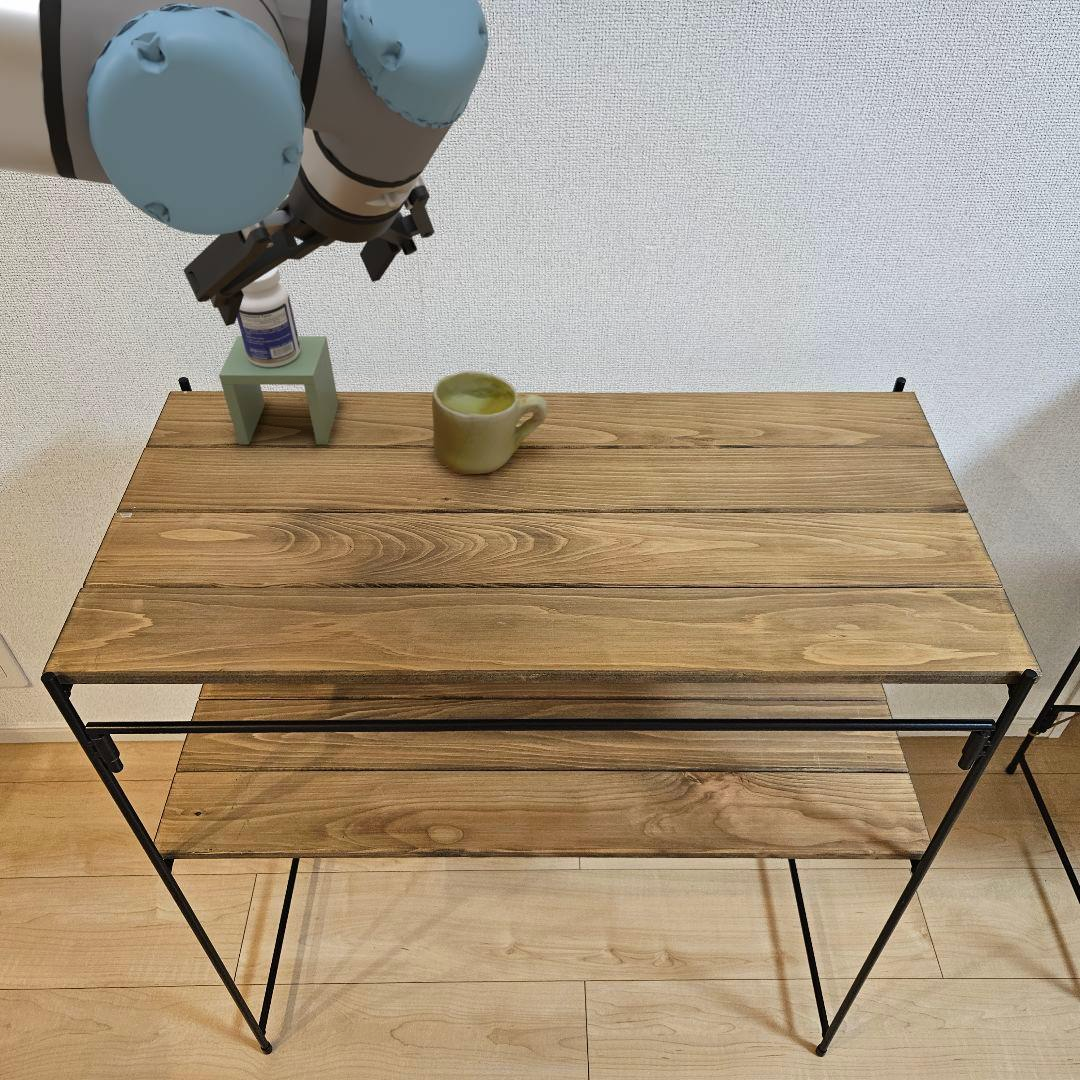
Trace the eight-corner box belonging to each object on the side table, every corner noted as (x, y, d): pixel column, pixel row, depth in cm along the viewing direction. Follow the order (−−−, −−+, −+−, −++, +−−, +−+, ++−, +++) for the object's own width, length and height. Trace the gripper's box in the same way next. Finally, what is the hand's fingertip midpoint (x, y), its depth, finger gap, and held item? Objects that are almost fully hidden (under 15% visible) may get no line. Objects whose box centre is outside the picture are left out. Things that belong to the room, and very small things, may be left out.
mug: (410, 470, 94) (428, 380, 89) (432, 439, 103) (449, 356, 99) (522, 500, 94) (545, 413, 89) (533, 467, 103) (555, 386, 99)
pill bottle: (258, 339, 99) (237, 255, 92) (307, 342, 98) (290, 258, 92) (239, 367, 95) (216, 281, 88) (291, 371, 94) (272, 284, 87)
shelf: (238, 444, 100) (218, 375, 94) (255, 403, 106) (237, 335, 100) (327, 445, 100) (313, 375, 94) (338, 404, 106) (326, 336, 100)
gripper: (193, 269, 53) (175, 372, 72) (536, 177, 63) (441, 288, 82) (137, 150, 52) (134, 286, 71) (493, 78, 63) (407, 213, 82)
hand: (299, 287), depth 77 cm, fingers open, 13 cm apart
